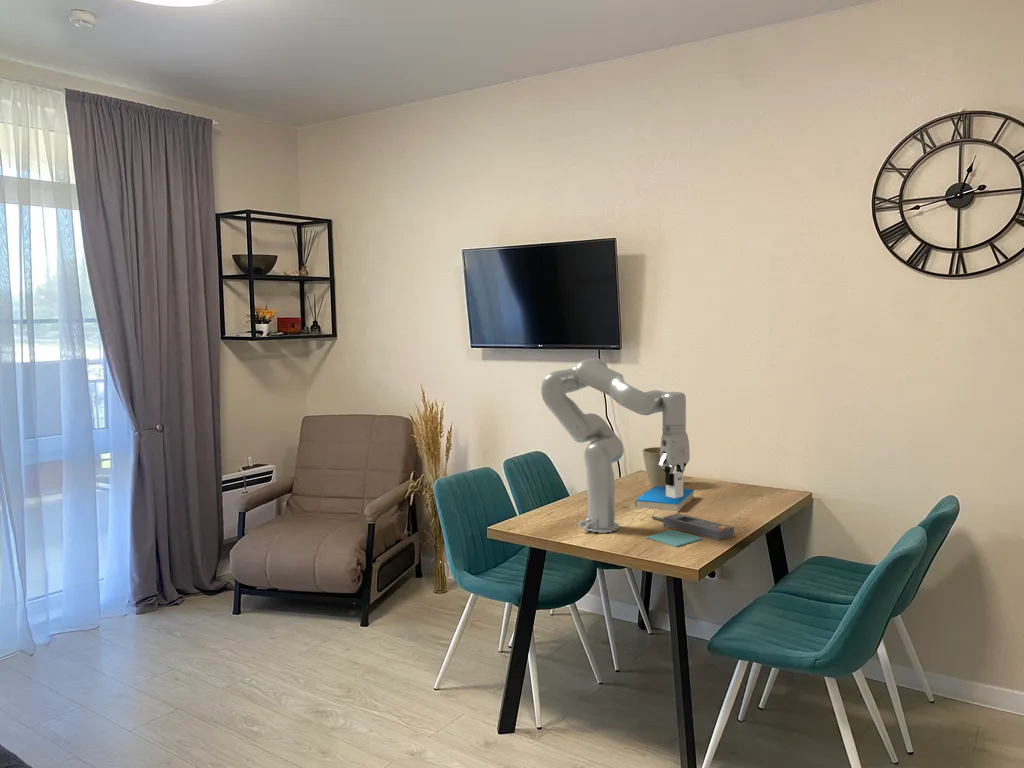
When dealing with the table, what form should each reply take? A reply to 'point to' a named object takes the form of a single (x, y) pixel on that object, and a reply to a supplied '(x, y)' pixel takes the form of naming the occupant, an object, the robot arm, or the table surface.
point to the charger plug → (675, 486)
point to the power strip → (697, 526)
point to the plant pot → (654, 466)
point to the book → (663, 499)
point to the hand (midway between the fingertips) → (674, 483)
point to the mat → (674, 538)
